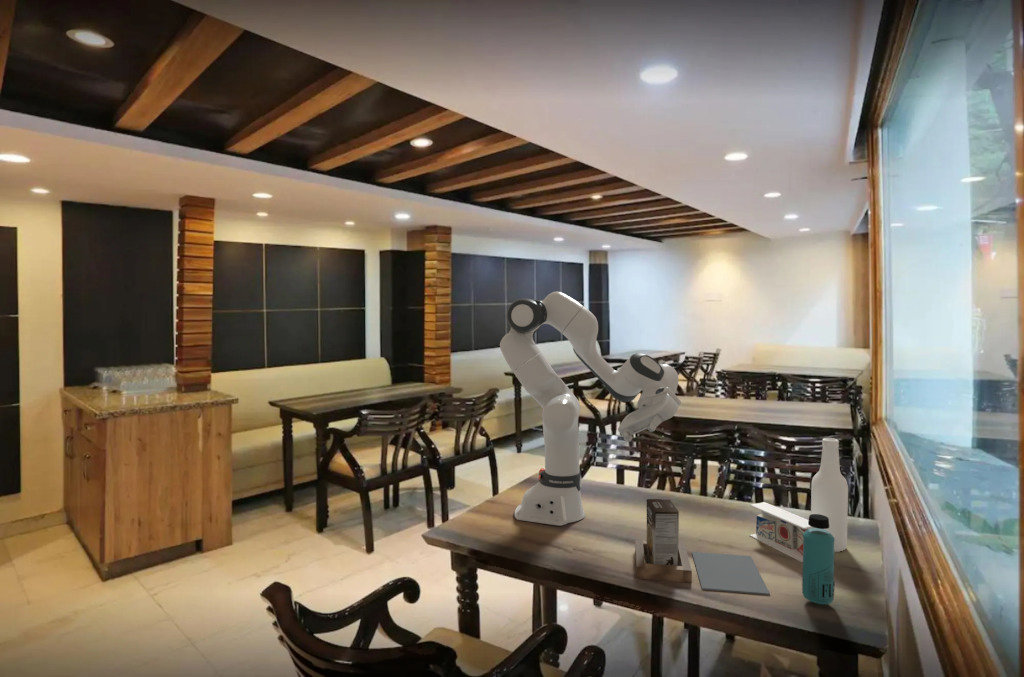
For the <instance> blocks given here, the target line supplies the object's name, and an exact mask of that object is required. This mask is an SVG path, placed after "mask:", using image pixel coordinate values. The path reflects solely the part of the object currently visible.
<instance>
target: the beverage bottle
mask: <svg viewBox="0 0 1024 677" xmlns="http://www.w3.org/2000/svg"><path fill="white" fill-rule="evenodd" d="M808 520H809V521H808V524H809V525H810V526H811V527H814V528H810V529H808V530H806V531H805V532H804V533H803V562H802V577H801V590H802V592H801V594H802V596H803V598H805V599H806V600H807V601H809V602H812V603H814V604H818V605H829V604H832V603H833V601H834V600H835V593H836V592H835V588H836V587H835V565H836V563H835V561H836V560H835V558H836V555H835V552H834V541H835V538H834V537H833V536H832V534H831V533H829V532H828V531H827V530H824V529H828V528H829V518H828V517H826V516H824V515H820V514H811V513H810V514H809V516H808Z"/></svg>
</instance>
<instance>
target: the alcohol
mask: <svg viewBox="0 0 1024 677" xmlns="http://www.w3.org/2000/svg"><path fill="white" fill-rule="evenodd" d="M821 441H822V442H821V445H822V450H821V458H820V459H821V460H820V468H819V470H818V471H817V472H816V474H814V476H812V480H811V491H810V492H811V494H810V496H811V499H810V502H811V503H810V515H811V514H820V515H824V516H826V517H828V518H829V528H828V529H824V530H827V531H828V532H829V533H831V534H832V536H833V537H834V538H835V541H834V553H841V552H840V551H842V552H844V551H845V550H846V549H847V546H848V543H847V542H848V514H849V513H848V512H849V511H848V508H849V507H848V506H849V486H848V482H847V479H846V478H845V477H844V475H842V473H841V470H840V453H839V447H840V444H839V443H840V441H839V440H838V439H837V438H833V437H825V438H822V440H821ZM843 550H844V551H843Z"/></svg>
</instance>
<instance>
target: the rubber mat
mask: <svg viewBox="0 0 1024 677" xmlns="http://www.w3.org/2000/svg"><path fill="white" fill-rule="evenodd" d="M691 555H692V557H693V562H694V565H695V569H696V573H697V576H698V580H699V584H700V587H701V590H702V591H703V590H704V591H712V592H713V591H715V592H725V593H726V592H728V593H740V594H749V595H751V594H752V595H760V596H761V595H762V596H771V594H770V593H771V592H770V591H769V589H768V587H767V585H766V583H765V581H764V580H763V577H762V574H761V573H760V571H759V569H758V567H757V565H756V563H755V562H754V559H753V558H752V555H743V554H729V553H728V554H727V553H715V552H703V551H701V552H700V551H692V552H691Z"/></svg>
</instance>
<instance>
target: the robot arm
mask: <svg viewBox="0 0 1024 677" xmlns="http://www.w3.org/2000/svg"><path fill="white" fill-rule="evenodd" d="M507 308H508V309H507V310H506V320H507V323H508V325H509V327H510V330H508V331H509V332H507V333H506V334H504V336H503V337H502V339H501V340H500V342H499V348H500V351H501V353H502V355H503V357H504V360H505V361H506V364H507V365H508V367H509V368H510V370H511V372H513V374H514V375H515V377H516V379H517V380H518V381H519V383H520V384H521V385H522V387H523V388H524V390H525V392H526V393H527V394H529V396H531V397H532V398H533V399H534V400H535V401H536V403H537V404H538V405H540V407H541V408H542V413H541V418H542V419H541V420H542V435H543V442H544V443H543V444H544V468H543V467H542V468H540V469H539V471H538V482H537V483H536V484H534V485H533V486H531V487H530V488H528V489H527V490H526V491H525V493H524V494H523V496H522V500H521V503H520V504H518V506H517V507H516V508H515V510H514V518H515V519H516V520H517V521H524V522H525V521H526V522H530V523H539V524H546V525H551V526H559V527H560V526H564V525H567V524H570V523H574V522H578V521H580V520H582V519H584V518H585V516H586V515H585V511H584V506H583V502H582V495H581V488H582V475H581V474H582V472H581V470H580V440H579V439H580V438H579V417H580V414H581V404H580V402H579V399H578V398H577V397H576V396H575V394H574V393H573V391H572V390H571V389H570V388H569V387H568V385H567V384H566V382H564V381H563V379H562V378H561V377H560V376H559V375H558V374H557V373H556V371H555V370H554V369H553V367H552V366H551V365H550V363H549V362H548V360H547V359H546V357H545V356H544V354H543V353H542V351H541V350H540V349H539V347H538V346H537V345H536V342H535V341H534V337H533V336H534V335H535V333H537V331H538V330H539V329H540V328H541V326H542V325H550V327H553V328H554V329H555V330H557V331H558V332H559V333H561V334H562V335H563V336H564V337H566V339H567V340H568V341H569V343H570V344H571V346H572V349H573V352H574V354H575V355H576V358H578V359H579V360H580V361H581V363H582V364H583V365H584V366H585V367H586V368H587V369H588V370H589V371H590V372H591V373H592V374H593V375H594V377H596V378H597V379H598V380H599V381H600V382H601V383H602V384H603V386H604V387H605V388H606V390H607V391H608V393H609V394H610V395H611V396H612V397H613V398H614V399H615V400H618V401H620V402H623V403H629V402H632V401H633V400H635V399H636V398H637V396H638V395H639V394H640V393H641V391H642V393H641V395H640V397H639V398H638V400H637V405H636V406H637V409H635V410H634V411H632V412H630V413H628V414H627V415H626V416H624V418H623V420H622V421H621V423H620V424H619V426H618V427H617V428H618V429H617V430H618V433H619V434H621V435H622V437H623V440H624V441H625V442H626V443H629V442H631V441H632V440H633V435H635V434H638V433H640V432H642V431H645V430H648V431H649V433H652V432H655V431H656V429H657V427H659V425H661V424H662V423H663V422H665V421H667V420H669V419H671V418H673V417H674V416H675V415H676V413H677V411H678V409H679V406H680V405H681V403H682V402H681V400H680V399H679V397H678V396H677V395H676V392H677V389H678V387H679V386H678V385H679V379H680V378H679V374H678V372H677V370H676V369H675V368H674V367H672V365H668V364H663V363H662V364H661V363H659V362H658V361H657V360H656V359H655V358H653V357H652V356H650V355H648V354H645V353H641V352H640V353H639V352H637V353H633V354H632V355H631V356H629V358H628V359H627V360H626V361H625V362H624V363H623V364H622V366H621V367H619V369H618V370H615V369H614V368H613V367H612V366H611V365H610V363H608V362H607V361H606V360H605V358H603V356H601V355H600V353H599V352H598V350H597V338H598V333H599V322H598V320H597V317H596V316H595V315H594V313H592V312H591V311H590V310H589V309H588V308H586V307H585V306H584V305H583V304H581V303H580V302H579V301H577V300H576V299H574V298H572V297H571V296H569V295H567V294H566V293H563V292H562V291H553V292H551V293H549V294H547V295H546V296H545V297H544V299H542V300H538V299H532V298H519V299H516V300H514V301H512V303H511V304H510V305H509V306H508V307H507Z"/></svg>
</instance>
